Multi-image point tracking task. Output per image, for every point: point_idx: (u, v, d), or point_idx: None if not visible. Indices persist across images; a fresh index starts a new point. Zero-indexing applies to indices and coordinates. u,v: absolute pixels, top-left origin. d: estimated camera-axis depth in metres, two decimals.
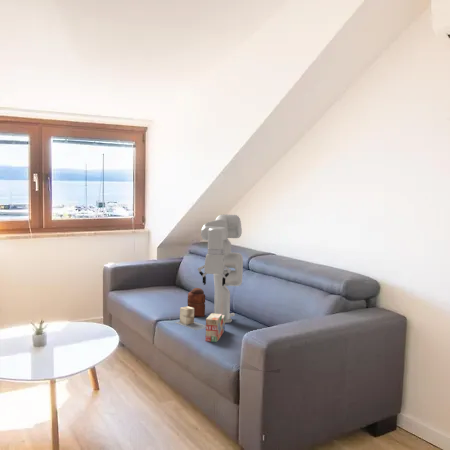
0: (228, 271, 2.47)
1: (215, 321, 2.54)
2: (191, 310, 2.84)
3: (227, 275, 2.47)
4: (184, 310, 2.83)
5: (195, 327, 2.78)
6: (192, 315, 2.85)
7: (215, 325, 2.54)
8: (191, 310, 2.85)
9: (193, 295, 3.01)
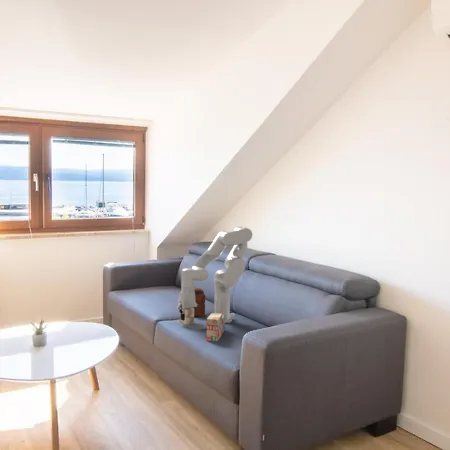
0: (195, 305, 2.90)
1: (216, 321, 2.54)
2: (191, 310, 2.84)
3: (194, 308, 2.89)
4: None
5: (195, 327, 2.78)
6: (192, 315, 2.85)
7: (216, 325, 2.54)
8: (191, 310, 2.85)
9: None
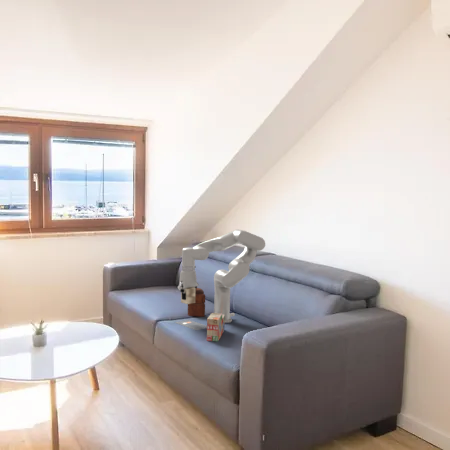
0: (197, 285, 2.89)
1: (216, 321, 2.55)
2: (192, 289, 2.84)
3: None
4: None
5: (195, 327, 2.78)
6: (193, 294, 2.84)
7: (216, 324, 2.55)
8: (192, 290, 2.84)
9: None
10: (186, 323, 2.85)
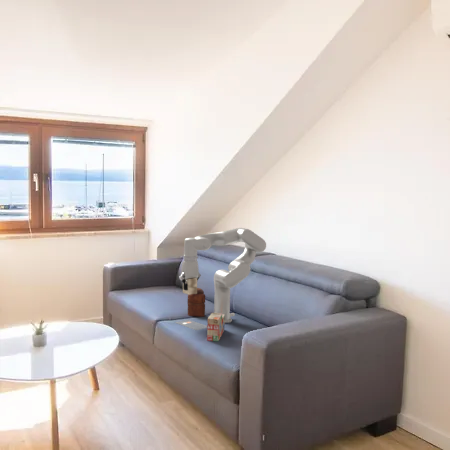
0: (199, 276, 2.87)
1: (217, 320, 2.55)
2: (194, 280, 2.82)
3: None
4: None
5: (195, 327, 2.78)
6: (195, 285, 2.83)
7: (217, 324, 2.55)
8: (194, 280, 2.82)
9: (193, 295, 3.01)
10: (186, 323, 2.85)
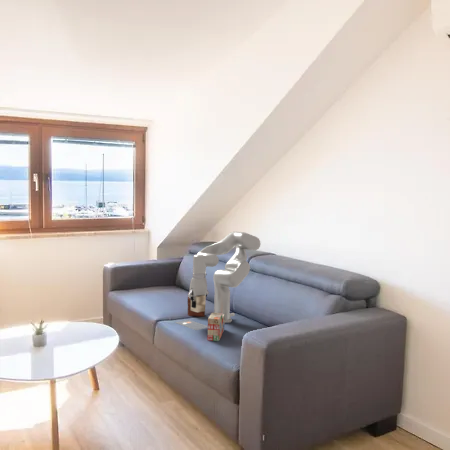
0: (207, 293, 2.82)
1: (217, 320, 2.55)
2: (202, 297, 2.76)
3: (206, 296, 2.81)
4: None
5: (195, 327, 2.78)
6: (203, 303, 2.77)
7: (217, 324, 2.56)
8: (202, 298, 2.77)
9: None
10: (186, 323, 2.85)
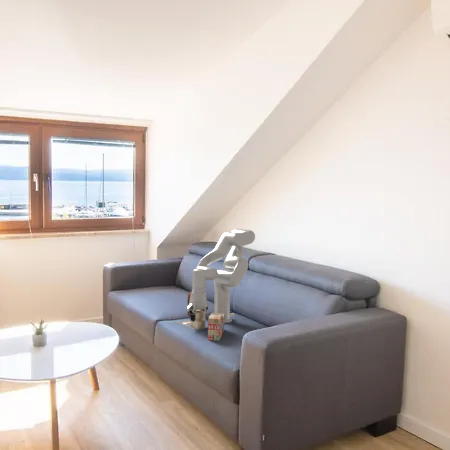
0: (207, 305, 2.83)
1: (217, 320, 2.56)
2: (202, 314, 2.77)
3: None
4: (195, 314, 2.76)
5: None
6: (203, 319, 2.78)
7: (217, 324, 2.56)
8: (202, 314, 2.77)
9: None
10: (186, 323, 2.85)
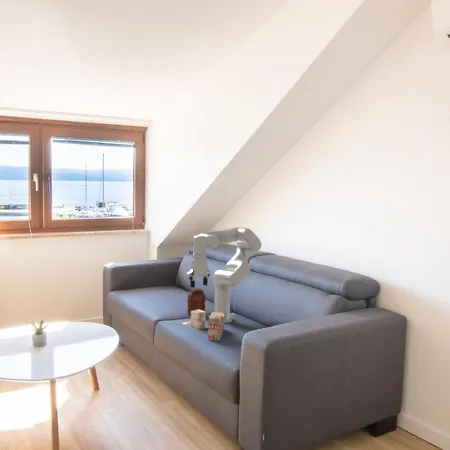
0: (209, 272, 2.82)
1: (218, 320, 2.56)
2: (202, 314, 2.77)
3: (208, 275, 2.82)
4: (195, 314, 2.76)
5: None
6: (203, 319, 2.78)
7: (218, 324, 2.56)
8: (202, 314, 2.77)
9: (193, 295, 3.01)
10: (186, 323, 2.85)
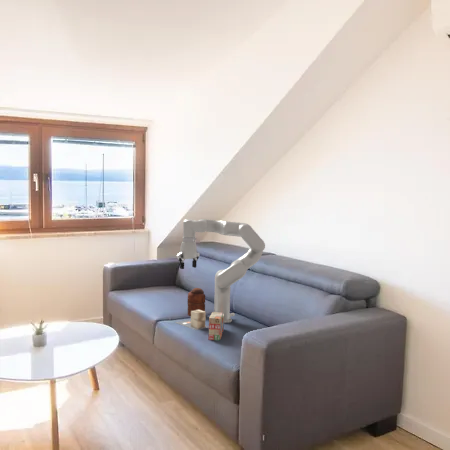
0: (198, 255, 2.96)
1: (218, 320, 2.56)
2: (202, 314, 2.77)
3: (197, 258, 2.96)
4: (195, 314, 2.76)
5: None
6: (203, 319, 2.78)
7: (218, 324, 2.57)
8: (202, 314, 2.77)
9: (193, 295, 3.01)
10: (186, 323, 2.85)
